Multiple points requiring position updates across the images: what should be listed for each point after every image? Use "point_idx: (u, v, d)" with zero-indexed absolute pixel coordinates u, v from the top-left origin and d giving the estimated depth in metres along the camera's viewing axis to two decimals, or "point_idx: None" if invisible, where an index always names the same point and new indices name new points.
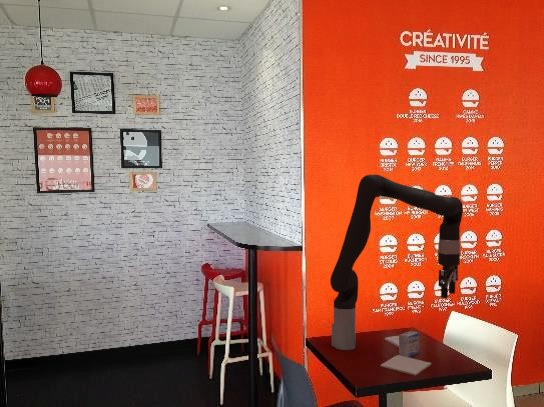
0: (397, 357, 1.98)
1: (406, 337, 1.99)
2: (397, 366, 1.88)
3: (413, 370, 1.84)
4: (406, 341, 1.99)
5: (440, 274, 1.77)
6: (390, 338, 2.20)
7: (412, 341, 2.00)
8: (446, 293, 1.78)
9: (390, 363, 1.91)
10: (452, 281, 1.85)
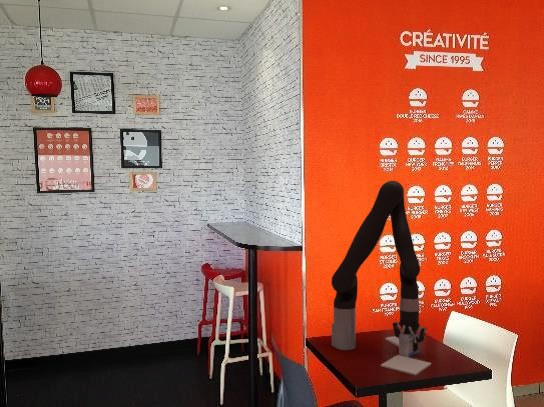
0: (397, 357, 1.98)
1: (406, 336, 1.99)
2: (397, 366, 1.88)
3: (413, 370, 1.84)
4: (406, 341, 1.99)
5: (423, 332, 1.97)
6: (391, 338, 2.20)
7: (412, 341, 2.00)
8: None
9: (390, 363, 1.91)
10: None
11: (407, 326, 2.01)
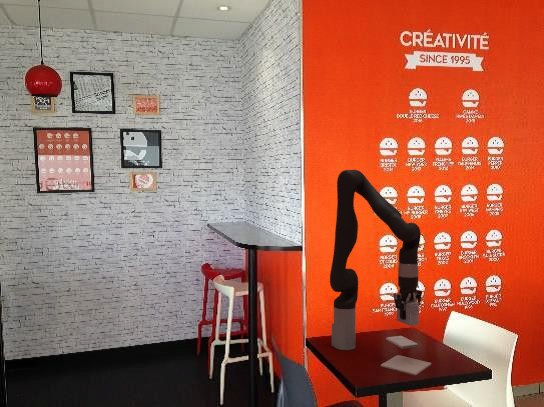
0: (397, 357, 1.98)
1: (417, 303, 1.90)
2: (397, 366, 1.88)
3: (413, 370, 1.84)
4: (417, 308, 1.90)
5: None
6: (391, 338, 2.20)
7: None
8: None
9: (390, 363, 1.91)
10: None
11: None
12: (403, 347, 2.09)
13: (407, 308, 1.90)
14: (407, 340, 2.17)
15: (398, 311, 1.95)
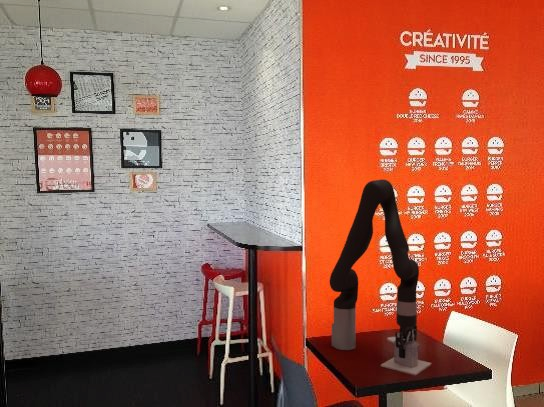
0: None
1: (416, 343, 1.88)
2: (397, 366, 1.88)
3: (413, 370, 1.84)
4: (417, 348, 1.88)
5: None
6: (392, 338, 2.19)
7: None
8: None
9: (390, 363, 1.91)
10: None
11: None
12: None
13: (408, 350, 1.87)
14: None
15: (396, 352, 1.91)
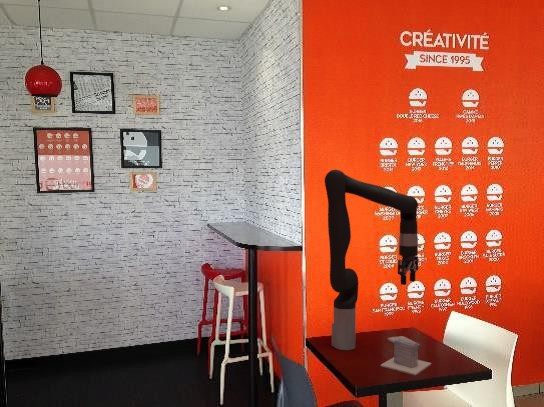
0: None
1: (416, 344, 1.88)
2: (397, 366, 1.88)
3: (413, 370, 1.84)
4: (417, 348, 1.88)
5: None
6: (393, 338, 2.19)
7: None
8: None
9: (390, 363, 1.91)
10: None
11: None
12: None
13: (408, 350, 1.87)
14: (409, 340, 2.16)
15: (396, 352, 1.91)
